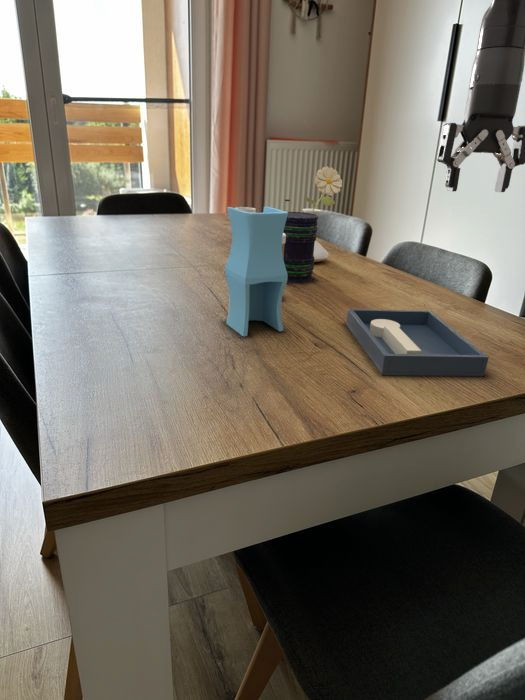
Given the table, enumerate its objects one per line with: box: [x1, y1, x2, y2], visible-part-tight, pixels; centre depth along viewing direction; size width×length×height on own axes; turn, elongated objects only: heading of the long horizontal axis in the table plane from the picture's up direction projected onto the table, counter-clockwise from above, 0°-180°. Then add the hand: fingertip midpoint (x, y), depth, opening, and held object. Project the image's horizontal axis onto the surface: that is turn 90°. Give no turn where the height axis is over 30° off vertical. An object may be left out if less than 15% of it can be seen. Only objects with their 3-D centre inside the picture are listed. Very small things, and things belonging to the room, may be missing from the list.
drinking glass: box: [234, 206, 257, 213], centre depth 165 cm, size 7×7×10 cm
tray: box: [345, 308, 489, 377], centre depth 84 cm, size 16×22×3 cm
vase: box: [224, 206, 289, 337], centre depth 87 cm, size 8×8×20 cm
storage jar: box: [283, 198, 319, 284], centre depth 121 cm, size 10×10×18 cm
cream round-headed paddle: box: [370, 319, 421, 354], centre depth 83 cm, size 16×5×2 cm, turn 5°
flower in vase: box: [302, 165, 343, 263], centre depth 138 cm, size 13×11×25 cm
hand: (475, 191), depth 87 cm, fingers open, 8 cm apart
